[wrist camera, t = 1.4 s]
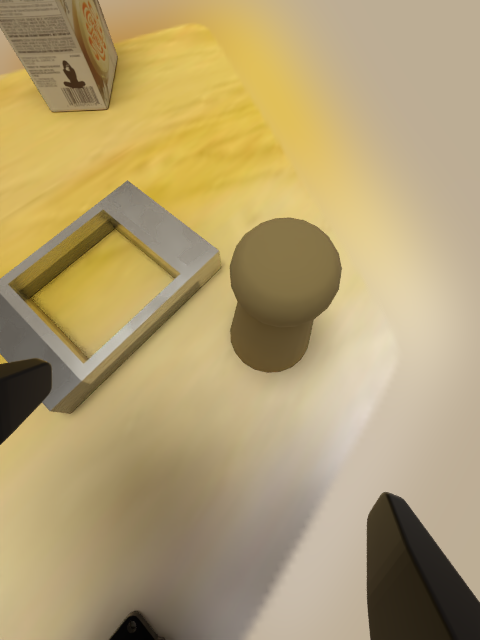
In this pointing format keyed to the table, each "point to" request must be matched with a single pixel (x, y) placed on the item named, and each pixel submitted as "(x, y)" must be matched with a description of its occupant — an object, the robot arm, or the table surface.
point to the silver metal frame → (56, 255)
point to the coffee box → (63, 50)
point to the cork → (280, 291)
